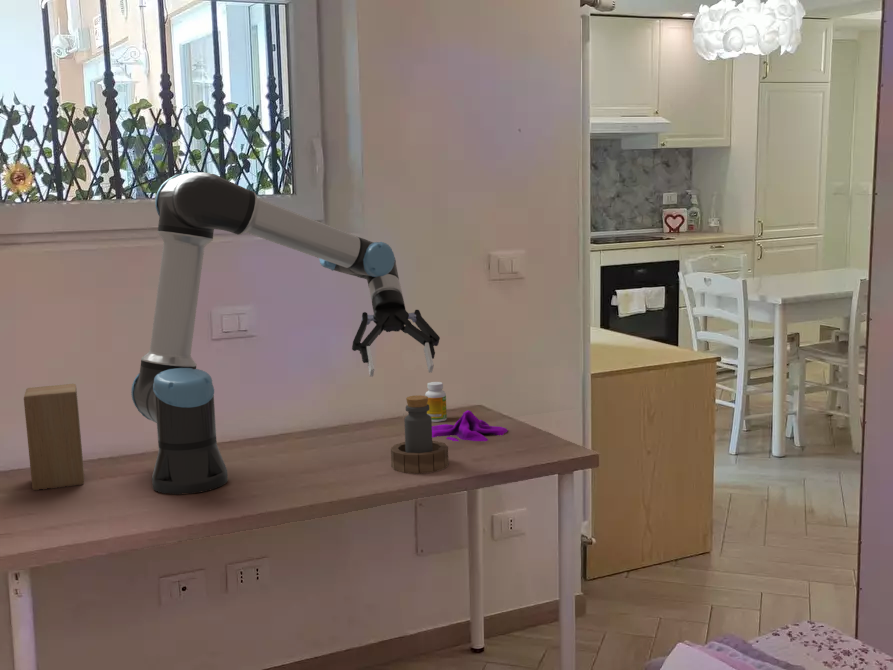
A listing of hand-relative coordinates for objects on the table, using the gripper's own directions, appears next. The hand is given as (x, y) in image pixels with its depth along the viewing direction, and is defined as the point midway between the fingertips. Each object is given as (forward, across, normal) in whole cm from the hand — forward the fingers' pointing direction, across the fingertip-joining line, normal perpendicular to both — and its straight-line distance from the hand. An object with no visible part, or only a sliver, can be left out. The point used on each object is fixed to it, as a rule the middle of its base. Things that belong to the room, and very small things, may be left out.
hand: (401, 371), depth 217 cm
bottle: (+21, -1, -5) cm, 22 cm away
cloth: (+6, -19, -22) cm, 29 cm away
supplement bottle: (-7, -15, -34) cm, 37 cm away
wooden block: (+11, +74, -17) cm, 77 cm away
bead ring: (+21, -1, -5) cm, 22 cm away
